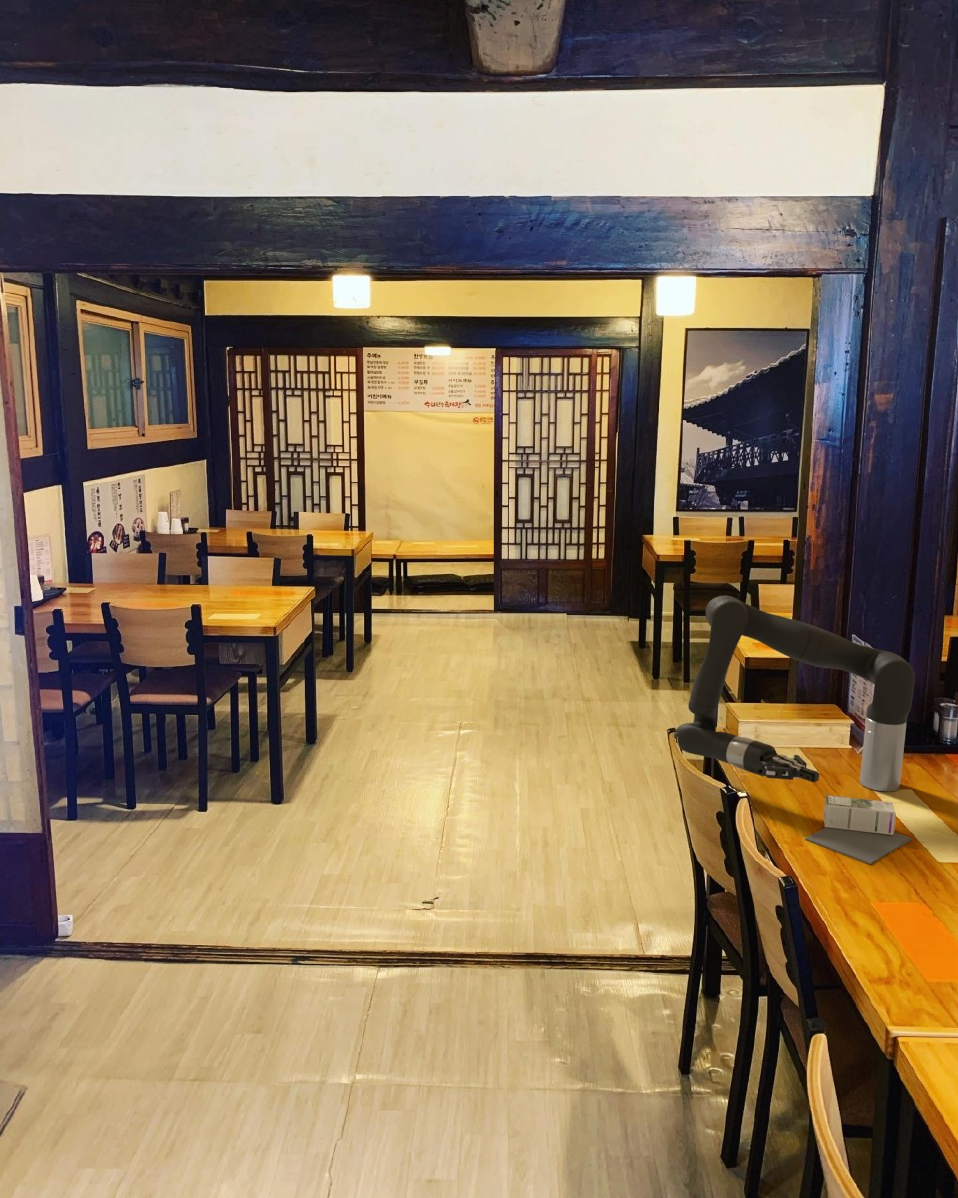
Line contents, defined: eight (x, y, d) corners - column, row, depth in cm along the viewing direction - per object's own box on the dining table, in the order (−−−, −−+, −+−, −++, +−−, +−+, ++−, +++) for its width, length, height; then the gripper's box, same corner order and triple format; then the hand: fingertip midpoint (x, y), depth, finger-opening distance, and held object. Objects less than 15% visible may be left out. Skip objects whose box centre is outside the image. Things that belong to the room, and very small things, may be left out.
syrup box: (824, 828, 221) (893, 837, 217) (826, 803, 220) (897, 812, 216) (822, 817, 227) (890, 826, 223) (825, 793, 225) (893, 801, 221)
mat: (848, 817, 228) (848, 815, 228) (911, 840, 217) (911, 838, 217) (805, 839, 216) (805, 838, 216) (870, 864, 205) (870, 863, 205)
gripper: (735, 747, 230) (802, 769, 217) (767, 734, 238) (834, 755, 226) (733, 777, 231) (799, 801, 219) (765, 764, 240) (831, 786, 227)
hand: (817, 777), depth 222 cm, fingers closed
